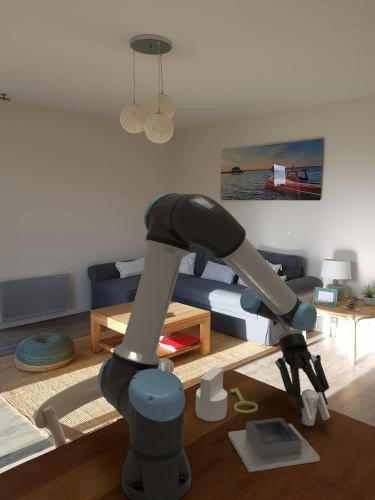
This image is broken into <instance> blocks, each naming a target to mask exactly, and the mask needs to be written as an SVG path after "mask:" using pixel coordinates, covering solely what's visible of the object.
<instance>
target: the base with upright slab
mask: <svg viewBox="0 0 375 500" xmlns="http://www.w3.org/2000/svg"><path fill="white" fill-rule="evenodd" d="M223 383H224V369H223V368H221V367H217V366H213V367H212V368H211V369H210V370H208V371H207V372H206V373H204V374H203V375H202V376H201V377H200V384H199V385H200V387H199V388H197V390H196V391H195V392H196V393H195V414H196V416H197V417H198V418H199V419H200V420H203V421H206V422H217V421H222V420H223V419H225V418H226V417H227V414H228V413H227V412H228V392H227V390H226V389H224V388H223V387H224V386H223V385H224V384H223Z"/></svg>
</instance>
